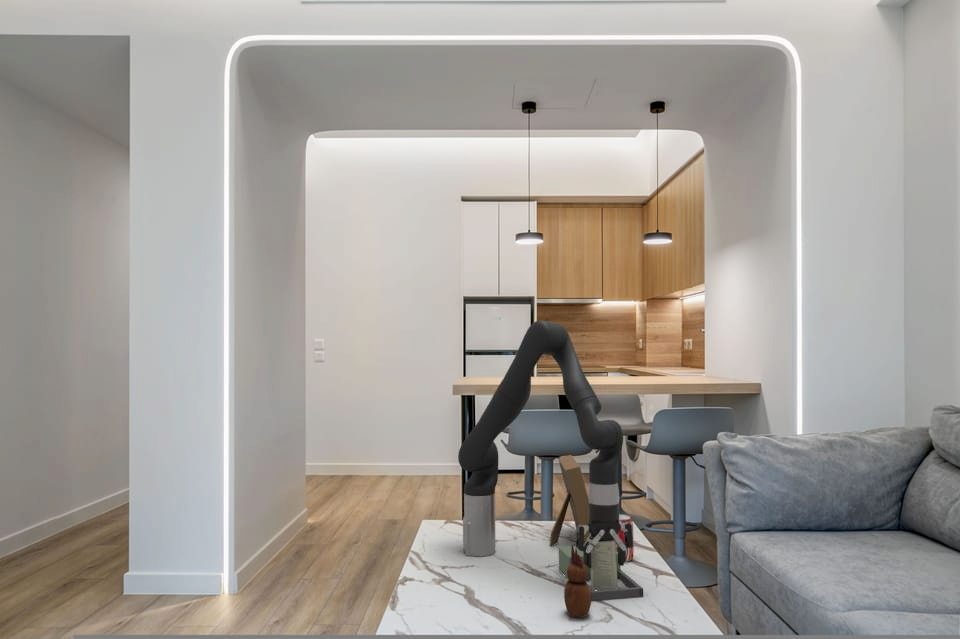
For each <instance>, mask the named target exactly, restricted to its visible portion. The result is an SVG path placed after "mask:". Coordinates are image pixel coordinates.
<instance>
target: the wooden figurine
mask: <svg viewBox="0 0 960 639" xmlns="http://www.w3.org/2000/svg"><path fill="white" fill-rule="evenodd" d="M573 546H574V545H573V544H571V547H572V548H571V564H569V566H568V568H567V577H568V579H569V580H568V579H567V581H566V582H565V585H564V590H563V591H564V592H563V593H564V594H563V596H564V605H565V610H566V612H567V613H568V615H570V616H571V617H573V618H578V619H579V618H585V617H586V616H588V615H589V613H590V611H591V609H590V608H591V606H592V601H591V591H592V590H591V586H590V585H589V584H588V581H586V579H587V577H588V573H587V568H586V566H585V565H584V564H583V563H582V559H580V555H578V554H577V549H575V553H574V548H573Z"/></svg>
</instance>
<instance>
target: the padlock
mask: <svg viewBox="0 0 960 639" xmlns="http://www.w3.org/2000/svg"><path fill="white" fill-rule="evenodd" d="M571 548H572V546H562V547H561V546H560V547H558V570H560V571H561V572H562V573H563V574H564V575H565V576H564V575H563V574H562V573H561V572H560V571H559V572H560V573H561V574H562V575H563V576H564V577H565V578H566V579H567V581H568V580H569V579H568V577H567V568H568V566H569V564H571ZM573 548H574V553H575V549H577V548H576V545H573ZM577 554H578V555H580V559H582V563H583V564H584V556H583V551H580V550H579V549H577ZM616 557H617V580H619V579H620V580H621V581H622V582H621V581H620V580H619V581H620V582H621V583H622V584H624V585H625V586H626V588H625V587H624V588H617V589H610V590H597V591H594V590H590V591H591V602H597V600H599V601H610V600H621V599H622V600H623V599H632V598H644V588H643V587H642V586H641V585H640V584H639V583H637V582H636V581H635V580H634V579H633V578H631V577H630V576H629V575H628V574H626V572H624V571H623V570H622V569H621V566H620V565H619V564H618V552H617V551H616ZM584 565H585V564H584ZM585 566H586V565H585ZM586 568H587V567H586ZM587 573H588V577H587V579H586V582H590V581H589V580H591V570H590V568H587ZM594 600H595V601H594Z"/></svg>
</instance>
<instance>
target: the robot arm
mask: <svg viewBox="0 0 960 639" xmlns="http://www.w3.org/2000/svg"><path fill="white" fill-rule="evenodd" d="M543 355H545V356H551V357H552V358H553V359H554V360H555V362H556V364H557V365H558V367H559V368H560V369H559V370H561V374H562V387H563V391H564V394H565V396H566V399H567V401H568V403H569V404H570V407H571V408H572V409H573V411H574V413H575V416H576V422H577V425H578V429H579V432H580V437H581V439H582V441H583V443H584V444H585V445H586V447H588V448H589V449H591V450H595V451H597V450H599V451H598V454H597V456H596V457H594V458H592V459H591V460H590V461H589V464H588V465H589V466H588V468H589V469H588V470H589V471H588V472H589V474H588V475H589V476H588V477H589V481H588V482H589V483H588V484H589V485H588V499H589V524H588V525H580V524H578V525H577V528H576V527H575V528H576V529H575V530H576V532H575V546H576V548H577V549H579V550H580V551H583V556H584V564H585V565H586V567H587V568H591V553H590V551H591V550H592V548H593V547H594V546H595V545H596V544H597V543H598V542H601V541H612V540H615V541H616V544H617V546H618V547H619V549H618V564H619V565H620V567H622V566H624V565H625V564H626V563H627V562H626V549H627V548H632V547H633V537H634V535H633V536H632V525H631V524H630V523H628V522H627V521H625V522H624V523H619V514H620V491H619V483H618V479H619V478H618V476H619V475H618V472H619V471H618V465H619V461H620V459H621V455H622V454H621V453H622V449H623V444H624V432H623V429H622V426H621V425H620V424H619V422H618V421H616V420H614V419H604V420H598V418H597V415H598V414H599V413H600V412H601V411H602V404H601V402H600V400H599V398H598V396H597V394H596V392H595V391H594V389H593V388H592V386H591V384H590V382H589V380H588V378H587V376H586V374H585V372H584V371H583V368H582V366H581V364H580V361H579V358H578V356H577V353H576V351H575V346H574V344H573V342H572V340H571V337H570V334H569V332H568V330H567V329H566V328H565V327H564V325H562V324H560V323H557V322H553V321H547V320H536V321H534V322H532V323H531V325H530V326H529V327H528V328H527V330H526V331H525V334H524V336H523V338H522V339H521V342H520V345H519V347H518V350H517V352H516V354H515V356H514V358H513V360H512V362H511V364H510V366H509V368H508V369H507V372H505V375H504V377H503V378H502V380H501V381H500V383H499V385H498V386H497V388H496V389H495V391H494V394H493V395H492V396H491V399H490V401H489V402H488V405H487V406H486V408H485V410H484V411H483V412H482V415H481V416H480V418H479V420H478V421H477V422H476V424H475V425H474V427H473V429H472V430H471V432H469V435H468V436H467V437H466V438H465V440H464V441H463V443H462V444H461V446H460V448H459V450H458V456H457V457H458V460H457V461H458V464H459V466H460V467H461V469H463V470H464V471H466V472H470V473H471V472H472V473H471V476H470V477H469V479H468V480H467V481H466V482H465V483H464V486H463V498H464V499H463V509H464V510H463V511H464V512H463V514H464V515H463V517H462V550H463V552H464V554H465V555H466V556H471V557H472V556H473V557H487V556H492V555H494V554H496V552H497V550H496V547H497V546H496V543H497V542H496V486H497V484H498V481H499V450H498V447H497V444H496V443H495V442H494V441H495V440H496V438H497V437H498V436H499V435H500V434H501V433H502V432H503V431H504V430H506V428H508V427H509V426H510V425H511V424H512V423H513V422H514V421H515V420H516V419H517V418H518V417H519V415H520V414H521V413H522V411H523V410H524V408H525V405H526V404H527V402H528V401H529V399H530V396H531V390H532V389H531V388H532V374H533V371H534V369H535V367H536V365H537V363H538V362H539V360H540V359H541V357H542V356H543ZM621 528H622V530H623V531H624V539H625V542H622V540H621V539H620V538H619V536H618V535H617V534H618V533H619V531H620V529H621ZM587 530H588V531H589V532H590V533H591V534H590V535H589V537H588V538H587V541H586V543H585V544H584V535H585V534H586V532H587ZM592 539H593V540H592Z"/></svg>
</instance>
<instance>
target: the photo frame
mask: <svg viewBox="0 0 960 639" xmlns="http://www.w3.org/2000/svg"><path fill="white" fill-rule="evenodd" d="M557 460H558V463H559V466H560V470H561V474H562V478H563V481H564V485H565V491H566V494H567V495H566V497H565V499H564V502H563V504H562V506H561V508H560V511H559V513H558V516H557V518H556V520H555V523H554V525H553V527H552V530H551V532H550V538H549V547H550V546H551V547H553V546H555V545H557V544H558V542H559V538H560V535H561V531H562V528H563V525H564V521H565V518H566V514H567V510H568V507H569V505H570V510H571V512H572V516H573V520H574V524H575V528H577V525H578V524H580V525H588V524H589V495H588V491H587V488H586V485H585V482H584V478H583V473H582V470H581V466H580V465H579V463H578V462H577V461H576V460H575V458H574V456H572V455H571V454H569V455H568V454H567V455H564V456H561V457H558V459H557ZM590 534H591V533H590V532H589V531H588V530H587V532H586V534H585V535H584V544H585V543H586V541H587V538H588V537H589V535H590ZM556 543H557V544H556ZM554 544H555V545H554ZM552 545H553V546H552Z"/></svg>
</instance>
